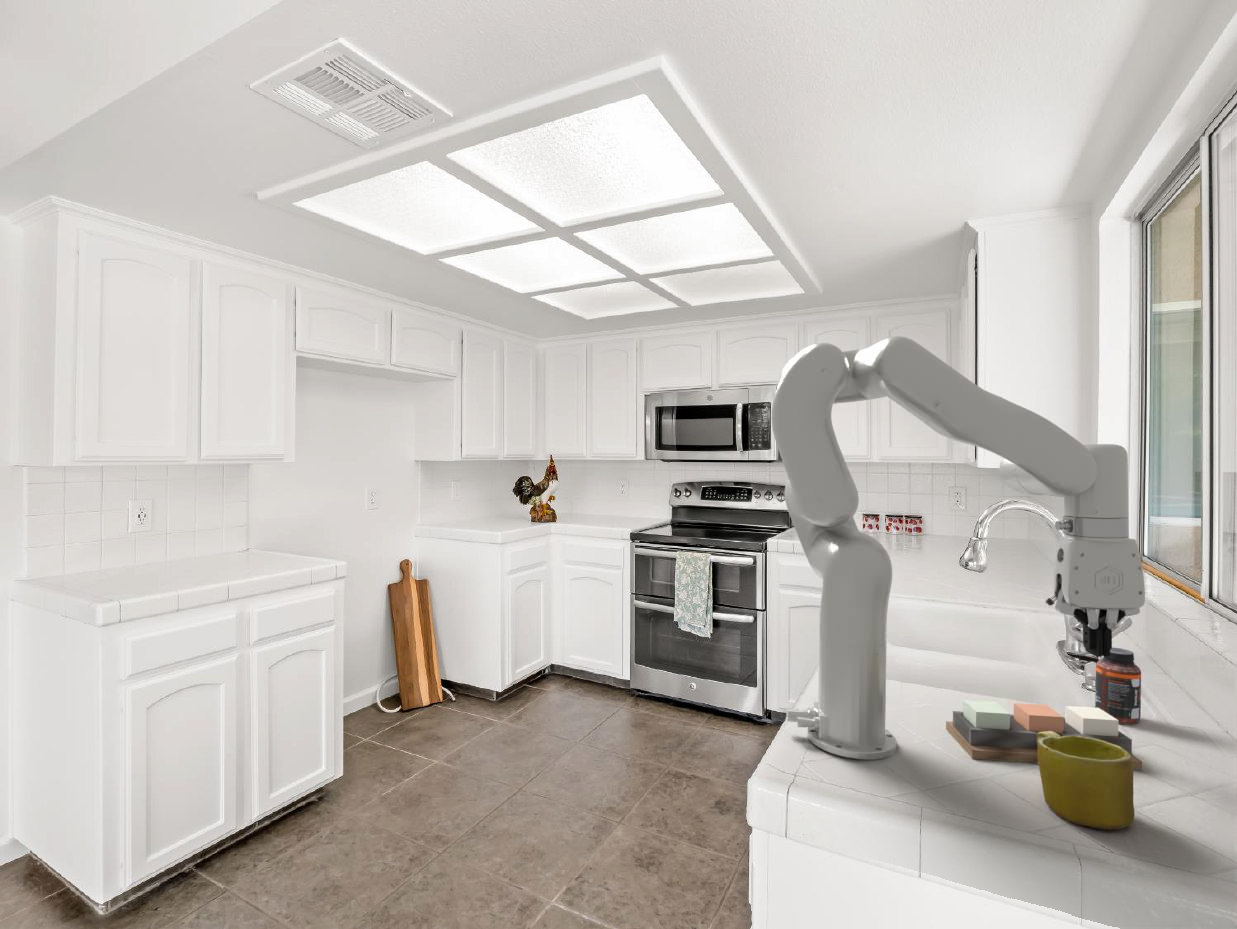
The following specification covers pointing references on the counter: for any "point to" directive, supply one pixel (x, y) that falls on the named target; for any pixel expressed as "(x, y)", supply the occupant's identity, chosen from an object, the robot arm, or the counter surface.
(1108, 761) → the mug
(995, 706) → the key sage
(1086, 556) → the robot arm
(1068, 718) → the key cream
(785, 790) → the counter surface
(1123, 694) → the supplement bottle
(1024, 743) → the key panel
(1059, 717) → the key terracotta
